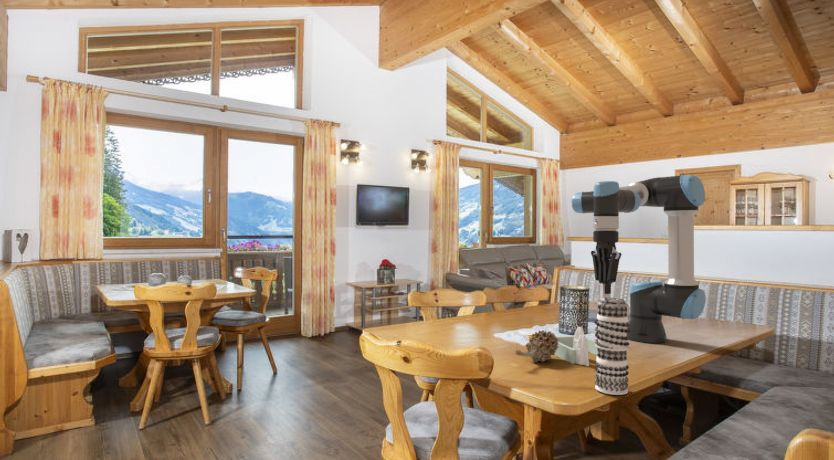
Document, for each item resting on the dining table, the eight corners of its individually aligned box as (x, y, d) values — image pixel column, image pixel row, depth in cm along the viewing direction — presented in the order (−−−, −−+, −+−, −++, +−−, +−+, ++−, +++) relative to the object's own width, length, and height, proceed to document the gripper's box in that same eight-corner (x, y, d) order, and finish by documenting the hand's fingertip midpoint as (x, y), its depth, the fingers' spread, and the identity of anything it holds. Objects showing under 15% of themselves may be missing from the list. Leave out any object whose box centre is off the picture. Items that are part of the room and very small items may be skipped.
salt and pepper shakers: (571, 356, 168) (572, 324, 168) (584, 356, 168) (584, 324, 168) (576, 365, 157) (576, 331, 157) (589, 366, 156) (590, 332, 156)
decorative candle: (593, 392, 130) (594, 299, 130) (593, 382, 139) (594, 295, 139) (630, 397, 127) (631, 302, 127) (628, 386, 136) (629, 297, 136)
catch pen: (581, 347, 181) (582, 335, 181) (613, 361, 162) (613, 347, 162) (544, 349, 177) (544, 337, 177) (572, 363, 159) (572, 349, 159)
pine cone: (538, 354, 170) (539, 325, 170) (564, 359, 164) (565, 330, 164) (505, 367, 154) (506, 335, 154) (533, 373, 148) (533, 340, 148)
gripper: (583, 229, 160) (583, 301, 160) (607, 230, 148) (607, 307, 148) (604, 229, 162) (603, 300, 162) (629, 230, 149) (628, 306, 149)
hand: (605, 303), depth 155 cm, fingers closed
